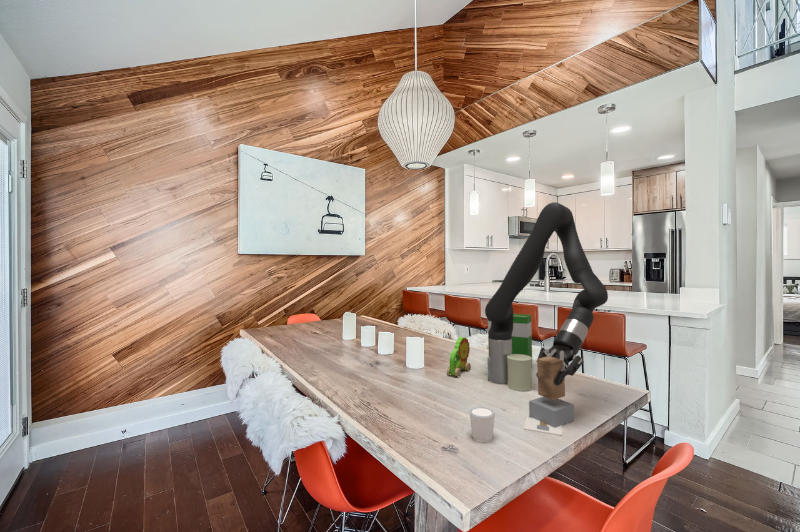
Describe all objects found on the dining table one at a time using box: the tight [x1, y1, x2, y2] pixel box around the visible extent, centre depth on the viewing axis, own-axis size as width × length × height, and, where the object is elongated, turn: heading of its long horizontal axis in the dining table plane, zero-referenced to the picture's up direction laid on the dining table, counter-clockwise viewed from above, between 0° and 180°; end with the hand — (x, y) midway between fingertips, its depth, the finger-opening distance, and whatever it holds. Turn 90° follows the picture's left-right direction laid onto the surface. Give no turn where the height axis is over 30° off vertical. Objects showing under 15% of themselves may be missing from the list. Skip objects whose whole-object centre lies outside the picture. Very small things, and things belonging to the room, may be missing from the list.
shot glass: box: [468, 406, 495, 442], centre depth 98 cm, size 7×7×7 cm
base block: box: [528, 396, 575, 428], centre depth 108 cm, size 9×9×5 cm
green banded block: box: [487, 313, 533, 358], centre depth 161 cm, size 18×7×24 cm, turn 56°
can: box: [506, 354, 534, 392], centre depth 135 cm, size 9×9×12 cm
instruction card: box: [523, 416, 563, 436], centre depth 103 cm, size 10×8×1 cm
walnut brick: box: [536, 357, 566, 400], centre depth 108 cm, size 5×5×11 cm
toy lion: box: [446, 336, 472, 378], centre depth 155 cm, size 16×5×15 cm, turn 144°
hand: (547, 381), depth 107 cm, fingers closed on walnut brick, 5 cm apart
